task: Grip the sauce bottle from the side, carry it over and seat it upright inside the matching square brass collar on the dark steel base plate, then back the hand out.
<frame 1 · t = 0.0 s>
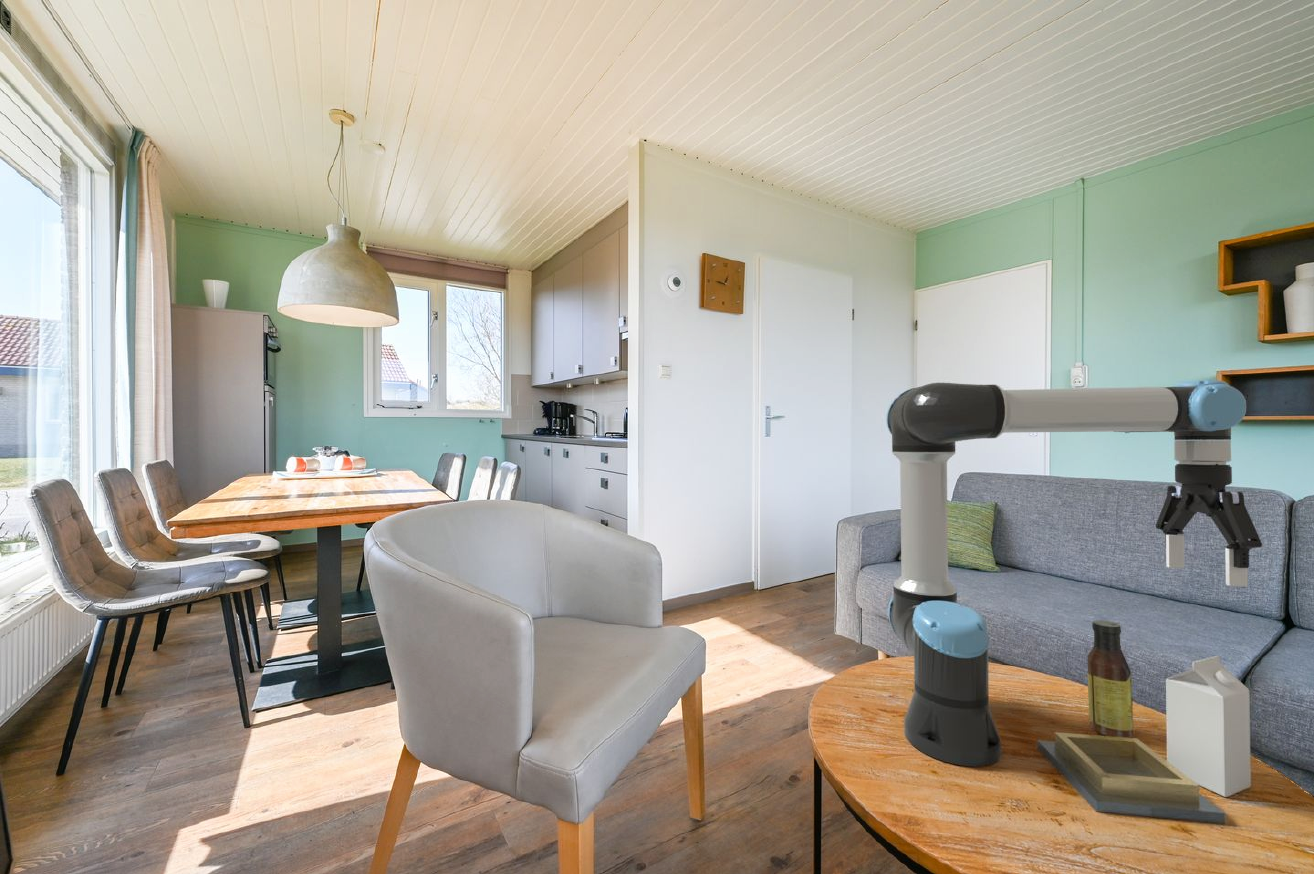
hand: (1204, 576, 101), 28 cm above the table, tool pointing down, fingers open, 13 cm apart
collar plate: (1121, 782, 84), on the table
sauce bottle: (1110, 733, 99), on the table
milk carton: (1207, 780, 85), on the table
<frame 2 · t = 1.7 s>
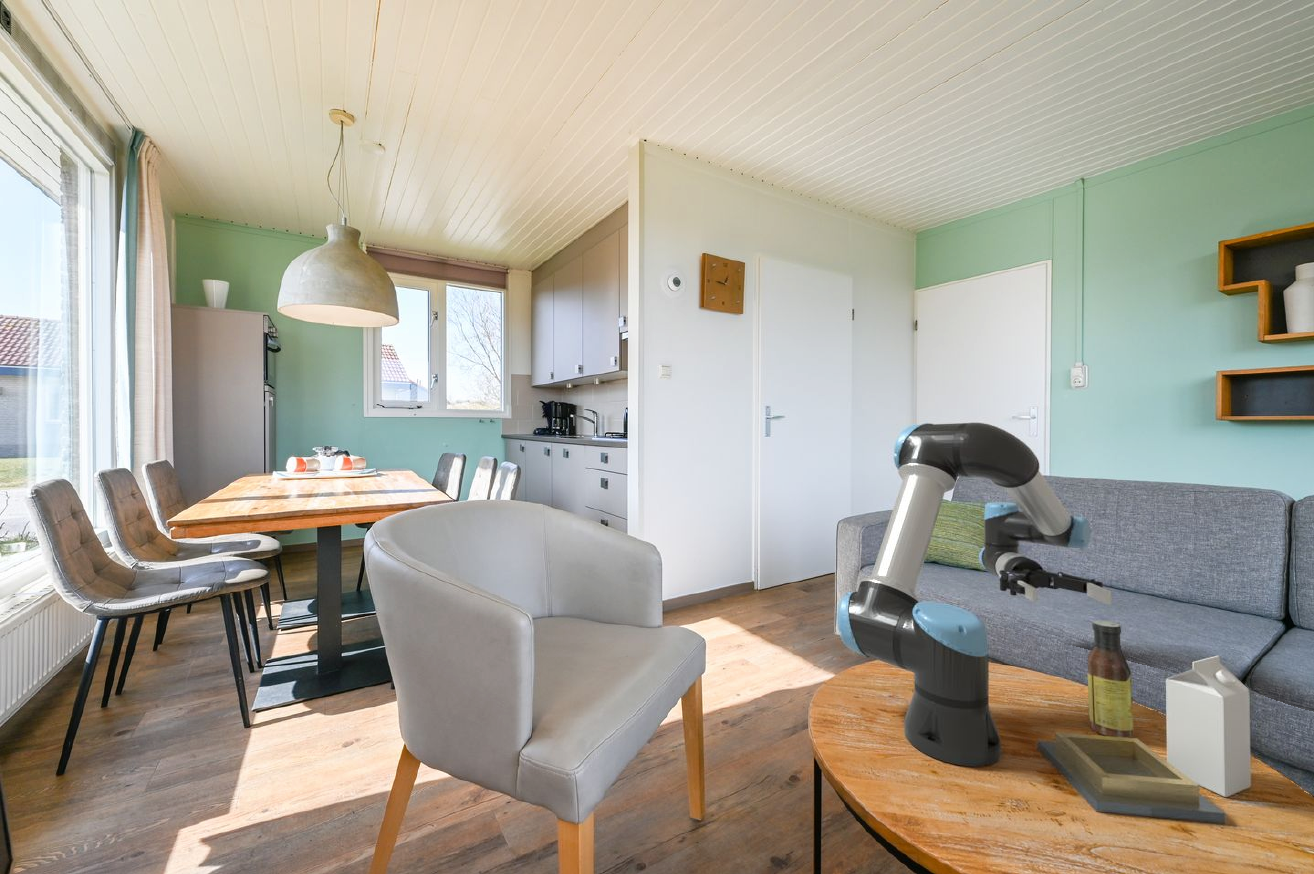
hand: (1071, 596, 110), 22 cm above the table, tool horizontal, fingers open, 13 cm apart
nothing on the table moved.
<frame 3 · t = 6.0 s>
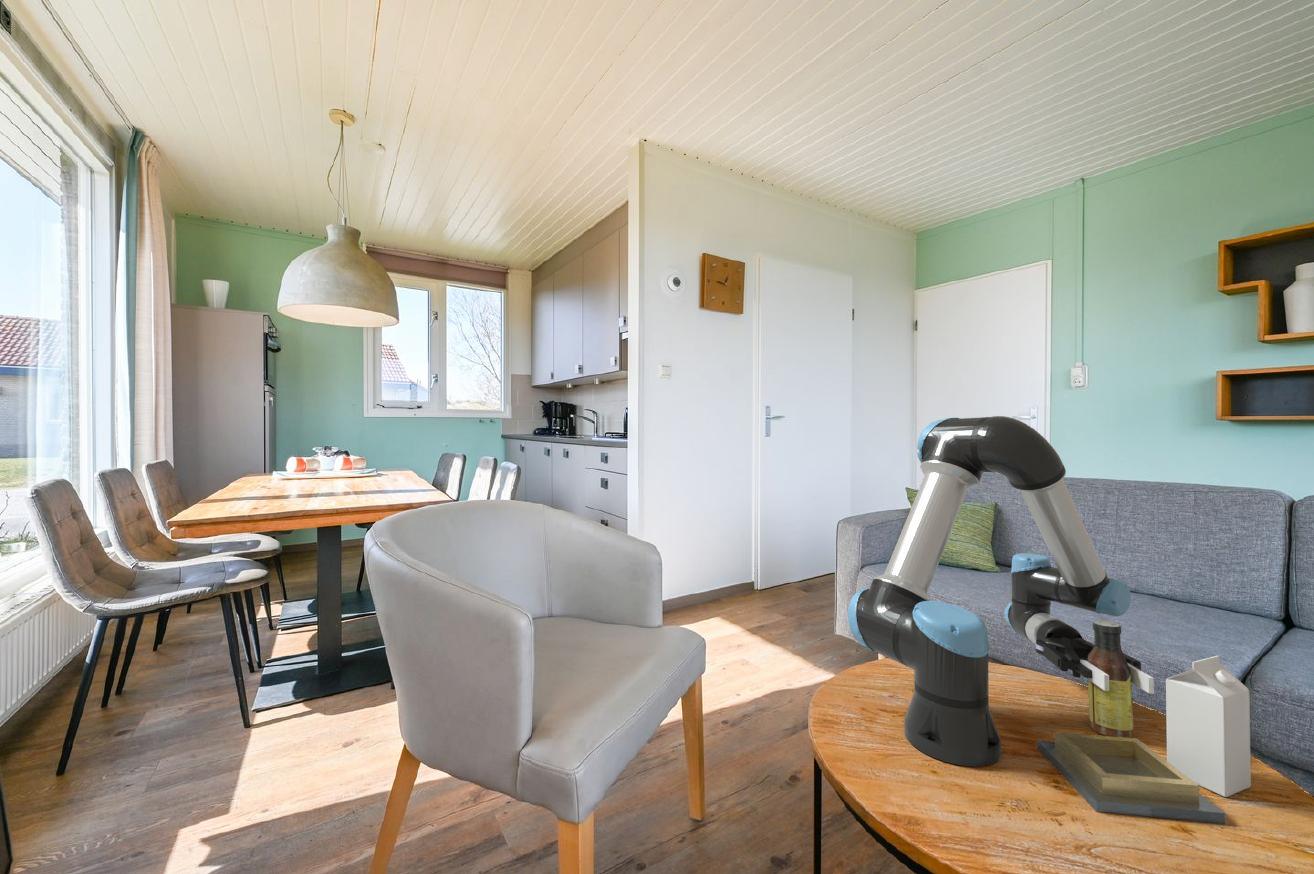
hand: (1128, 684, 94), 11 cm above the table, tool horizontal, fingers closed on sauce bottle, 6 cm apart
sauce bottle: (1110, 733, 99), on the table, touching gripper
everything else where it was.
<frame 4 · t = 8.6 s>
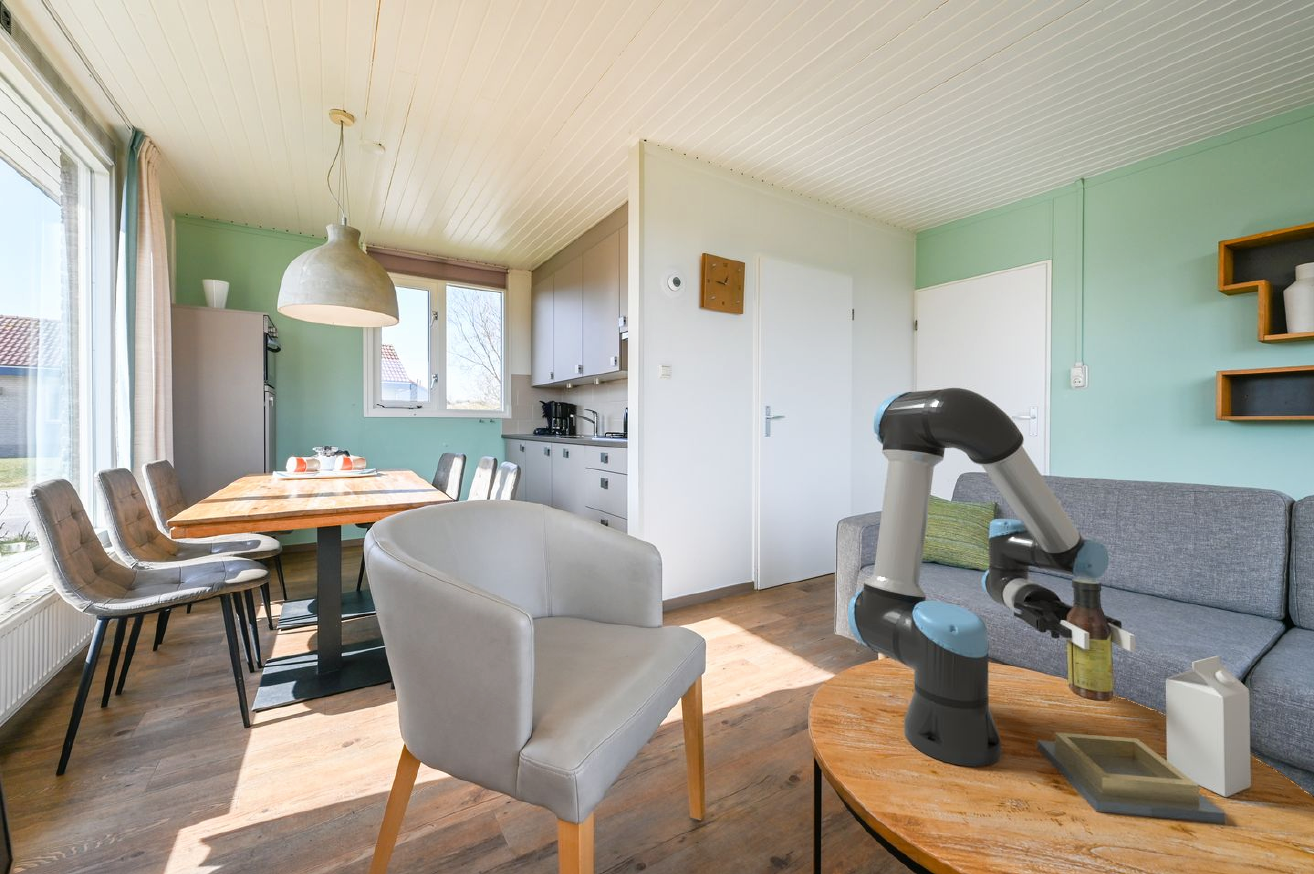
hand: (1109, 642, 89), 20 cm above the table, tool horizontal, fingers closed on sauce bottle, 6 cm apart
sauce bottle: (1089, 695, 94), point 9 cm above the table, touching gripper
everything else where it was.
when the fingers open (14 cm above the table, at t = 11.1 s): sauce bottle drops 1 cm, resting on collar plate.
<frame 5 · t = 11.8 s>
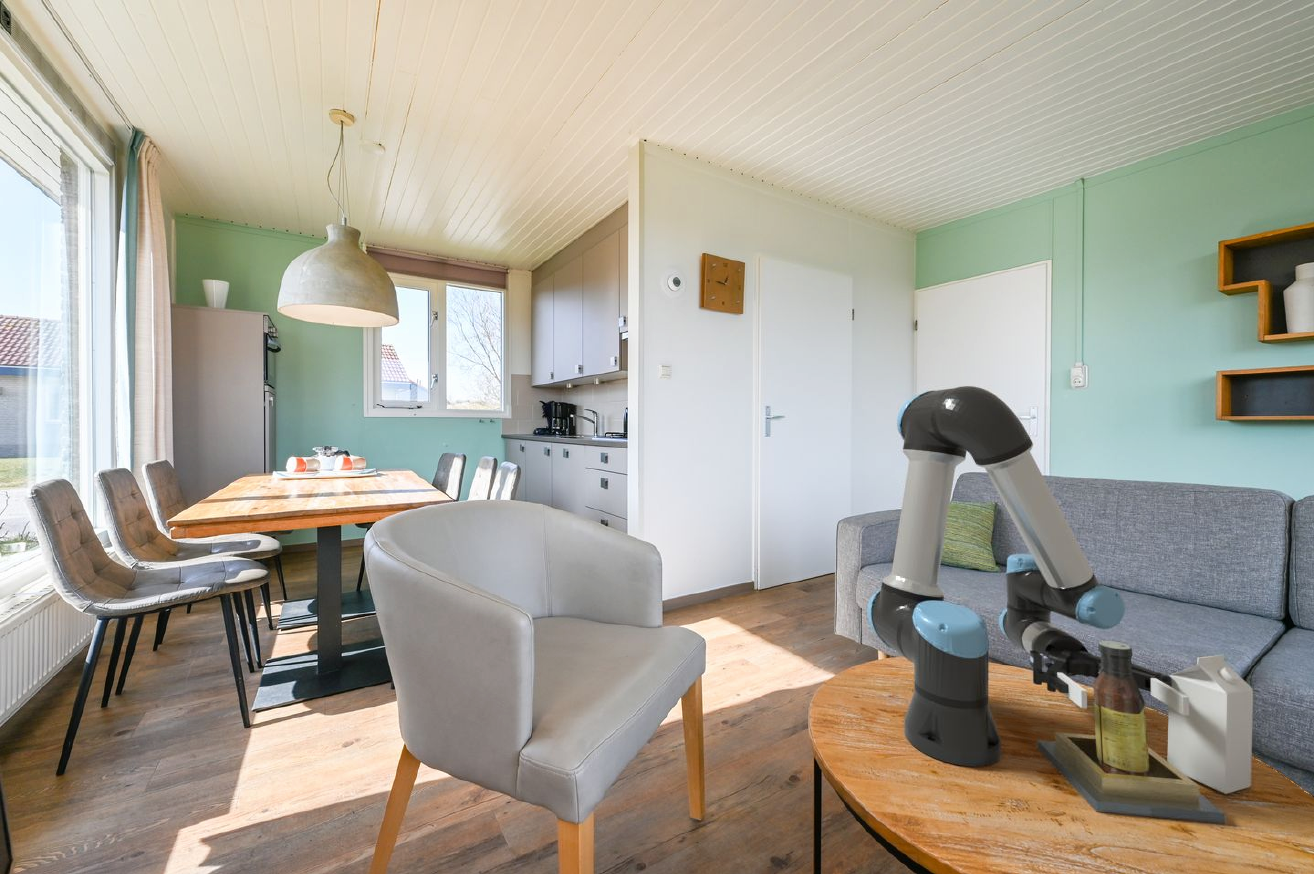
hand: (1134, 702, 81), 14 cm above the table, tool horizontal, fingers open, 13 cm apart
sauce bottle: (1121, 773, 84), point 1 cm above the table, touching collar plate
milk carton: (1207, 778, 85), on the table, touching gripper, hand
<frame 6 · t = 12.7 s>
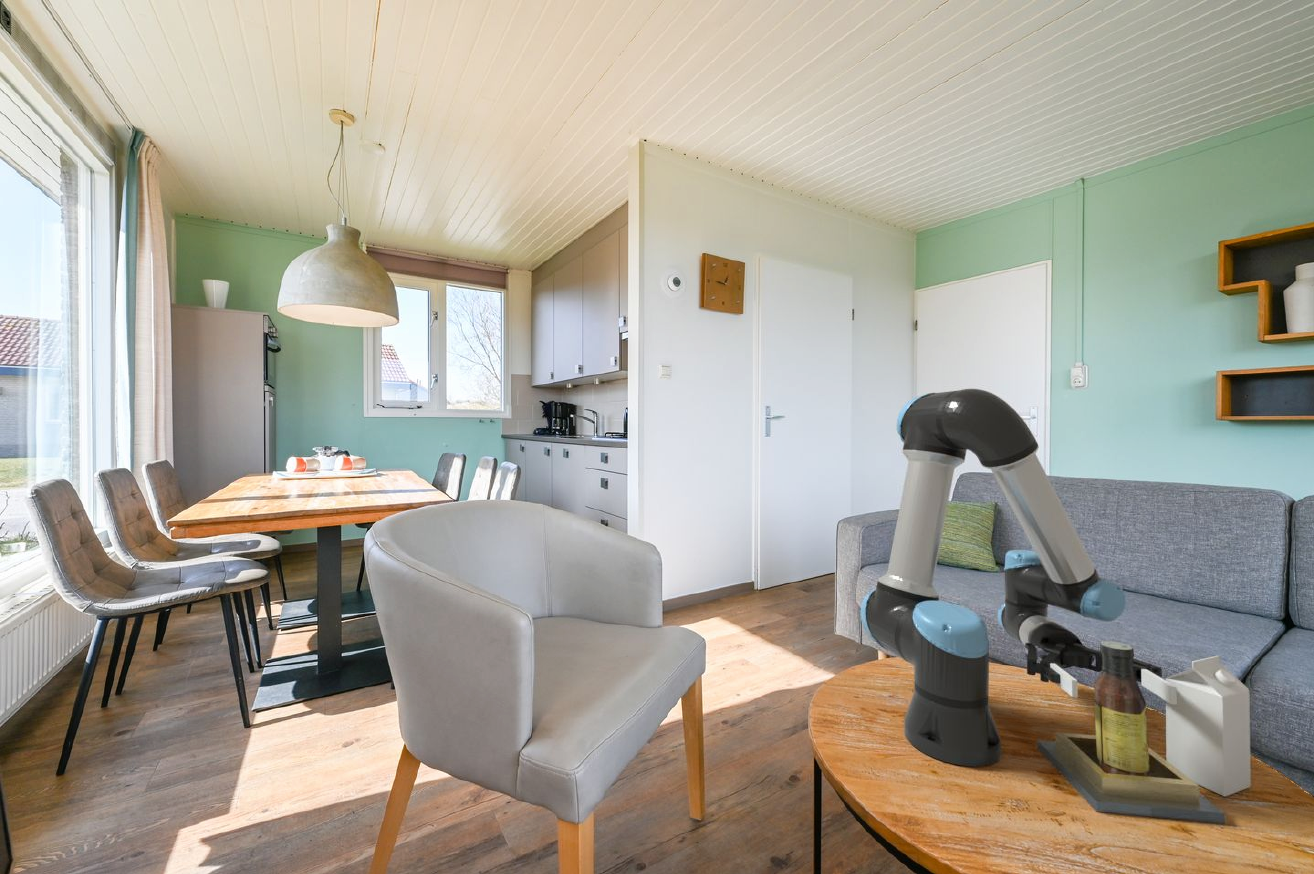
hand: (1123, 692, 84), 14 cm above the table, tool horizontal, fingers open, 13 cm apart
milk carton: (1207, 780, 85), on the table, touching gripper
everything else where it was.
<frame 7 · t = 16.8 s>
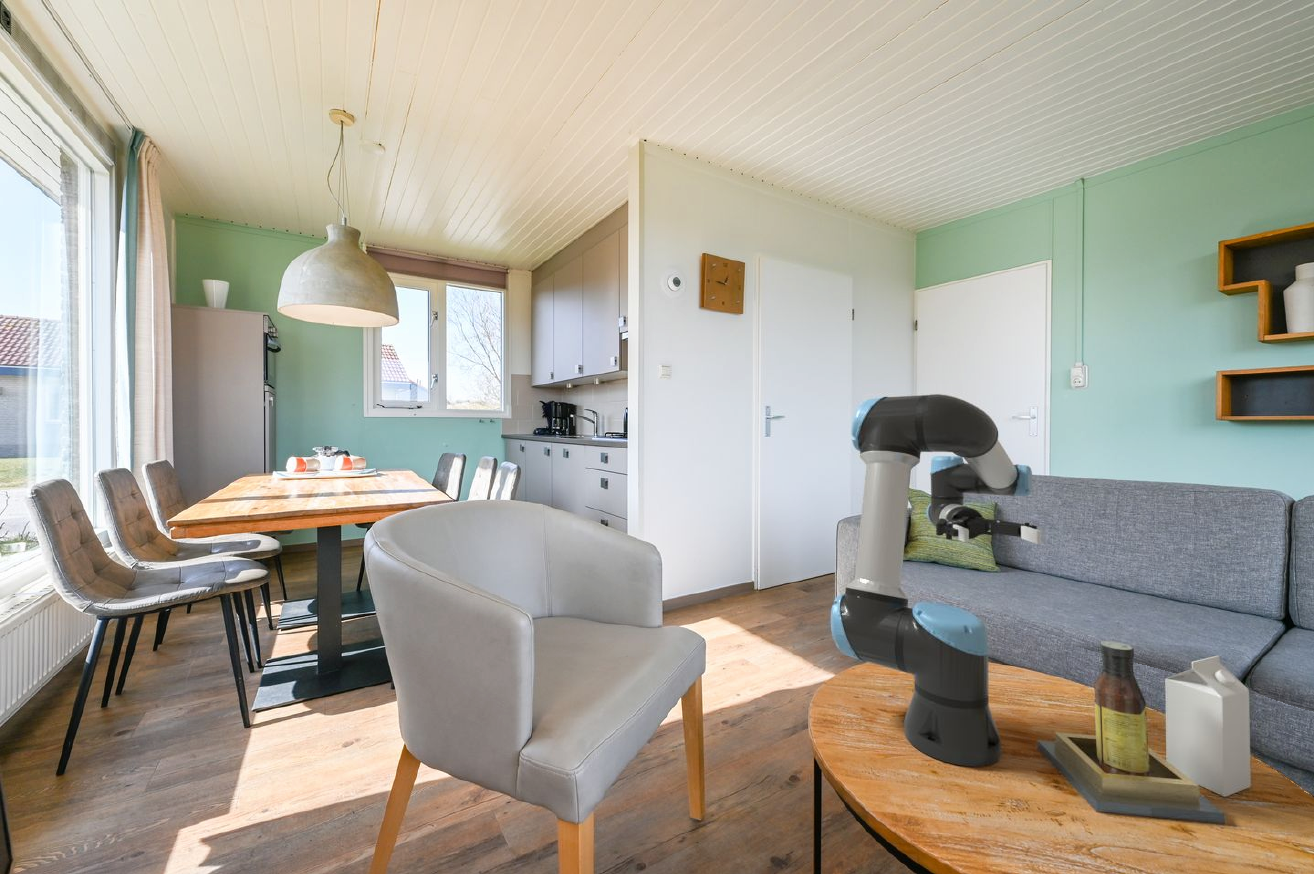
hand: (1002, 536, 110), 34 cm above the table, tool horizontal, fingers open, 13 cm apart
milk carton: (1207, 780, 85), on the table
everything else where it was.
at the end: sauce bottle 0.1 cm off-centre on the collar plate, point 1.3 cm above the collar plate's base; sauce bottle tilted 0°; the gripper is holding nothing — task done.
